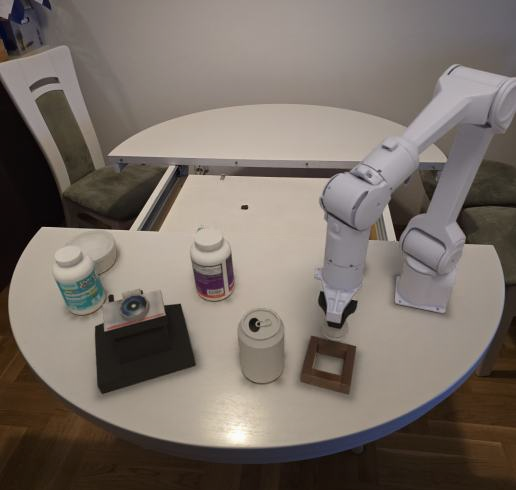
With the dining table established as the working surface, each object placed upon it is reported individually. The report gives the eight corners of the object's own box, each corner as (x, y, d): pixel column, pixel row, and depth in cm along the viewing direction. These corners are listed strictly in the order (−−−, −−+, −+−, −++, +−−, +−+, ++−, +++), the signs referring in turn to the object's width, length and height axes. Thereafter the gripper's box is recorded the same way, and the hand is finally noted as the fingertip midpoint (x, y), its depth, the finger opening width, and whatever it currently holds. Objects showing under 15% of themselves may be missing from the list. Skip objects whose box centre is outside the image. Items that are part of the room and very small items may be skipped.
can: (240, 350, 73) (235, 305, 66) (281, 346, 73) (281, 301, 66) (242, 388, 67) (237, 343, 60) (286, 383, 67) (287, 339, 60)
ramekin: (92, 286, 87) (85, 268, 84) (59, 268, 92) (51, 251, 88) (130, 256, 94) (125, 239, 91) (98, 241, 99) (92, 224, 96)
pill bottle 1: (71, 322, 79) (47, 272, 71) (66, 297, 84) (43, 248, 76) (109, 308, 82) (91, 258, 73) (103, 285, 87) (84, 236, 79)
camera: (77, 351, 58) (76, 276, 68) (103, 396, 68) (99, 324, 78) (186, 321, 61) (169, 254, 72) (196, 368, 71) (180, 303, 82)
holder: (354, 354, 72) (356, 345, 70) (348, 394, 66) (350, 386, 64) (310, 343, 74) (311, 335, 72) (300, 382, 68) (301, 373, 66)
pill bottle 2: (218, 270, 90) (211, 217, 81) (242, 288, 85) (238, 235, 76) (189, 289, 85) (178, 236, 76) (213, 309, 81) (205, 255, 72)
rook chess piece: (347, 344, 65) (353, 311, 60) (320, 340, 66) (323, 307, 61) (348, 322, 69) (353, 290, 64) (322, 319, 69) (325, 286, 64)
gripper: (325, 220, 63) (320, 281, 72) (306, 283, 52) (302, 347, 61) (372, 227, 61) (360, 289, 70) (361, 294, 51) (349, 358, 59)
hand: (336, 317), depth 65 cm, fingers closed on rook chess piece, 3 cm apart
